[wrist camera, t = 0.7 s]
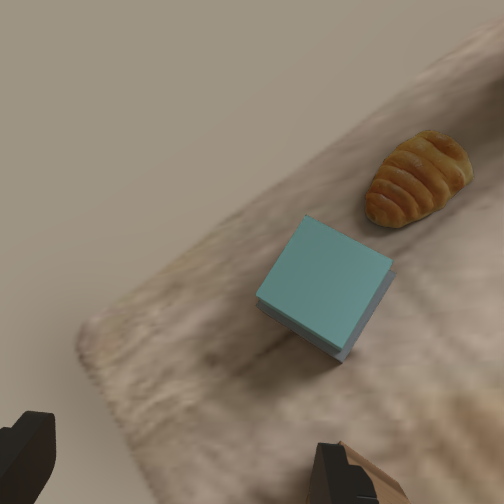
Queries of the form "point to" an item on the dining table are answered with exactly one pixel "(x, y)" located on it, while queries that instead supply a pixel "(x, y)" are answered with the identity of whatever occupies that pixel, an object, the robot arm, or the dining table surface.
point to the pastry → (417, 179)
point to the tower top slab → (324, 281)
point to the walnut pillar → (377, 480)
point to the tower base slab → (322, 344)
